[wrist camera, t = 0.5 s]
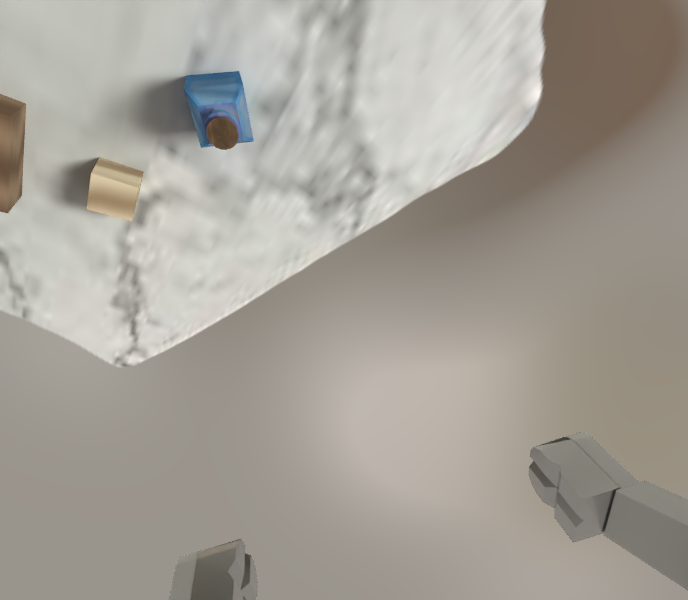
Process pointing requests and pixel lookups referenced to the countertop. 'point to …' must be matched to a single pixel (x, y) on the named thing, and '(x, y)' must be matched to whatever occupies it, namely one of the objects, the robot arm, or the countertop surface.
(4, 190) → the walnut block
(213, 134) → the perfume bottle
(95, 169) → the maple cube
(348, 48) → the countertop surface
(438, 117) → the countertop surface
